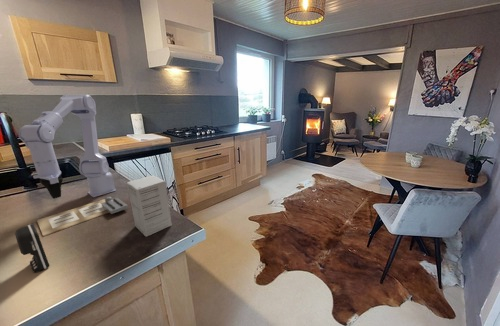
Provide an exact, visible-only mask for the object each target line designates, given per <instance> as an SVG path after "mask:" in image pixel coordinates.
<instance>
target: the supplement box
mask: <svg viewBox="0 0 500 326" xmlns="http://www.w3.org/2000/svg"><path fill="white" fill-rule="evenodd" d="M126 188H127V192H128V196H129V199H130V201H129V202H130V205H131V209H132V216H133V221H134V226H135V227H136V229H138V231H140V232H141V234H142V235H144V237H145V238H147V237H149V236H151V235H153V234H155V233H158V232H160V231H162V230H164V229H166V228H169V227H172V225H173V223H172V216H171V210H170V203H169V196H168V189H167V183H166V180H163V179H162V178H160V177H158V176H156V175H154V174H153V175H148V176H144V177H142V178H137V179H134V180H130V181H128V182H126Z"/></svg>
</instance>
